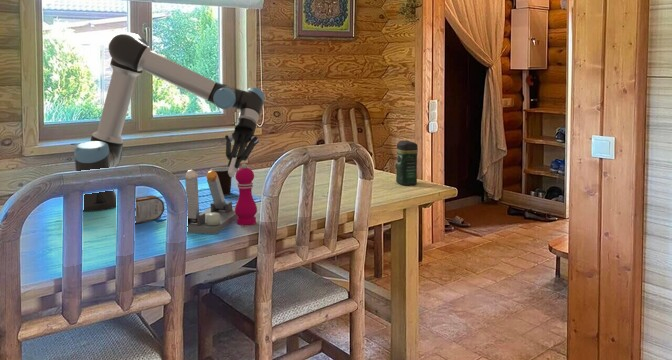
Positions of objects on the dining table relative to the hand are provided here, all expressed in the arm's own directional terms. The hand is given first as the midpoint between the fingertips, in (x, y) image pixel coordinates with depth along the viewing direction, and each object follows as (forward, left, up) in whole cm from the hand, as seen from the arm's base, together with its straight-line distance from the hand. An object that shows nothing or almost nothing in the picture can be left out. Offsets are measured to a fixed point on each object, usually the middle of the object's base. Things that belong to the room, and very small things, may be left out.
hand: (230, 174), depth 217 cm
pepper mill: (+12, -18, -13) cm, 25 cm away
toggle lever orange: (+1, -12, -9) cm, 15 cm away
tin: (-23, -22, -13) cm, 34 cm away
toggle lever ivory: (-2, -28, -9) cm, 30 cm away
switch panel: (+1, -19, -12) cm, 22 cm away
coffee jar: (+59, +54, -13) cm, 81 cm away
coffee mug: (-12, +24, -13) cm, 30 cm away
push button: (+4, -28, -10) cm, 30 cm away
